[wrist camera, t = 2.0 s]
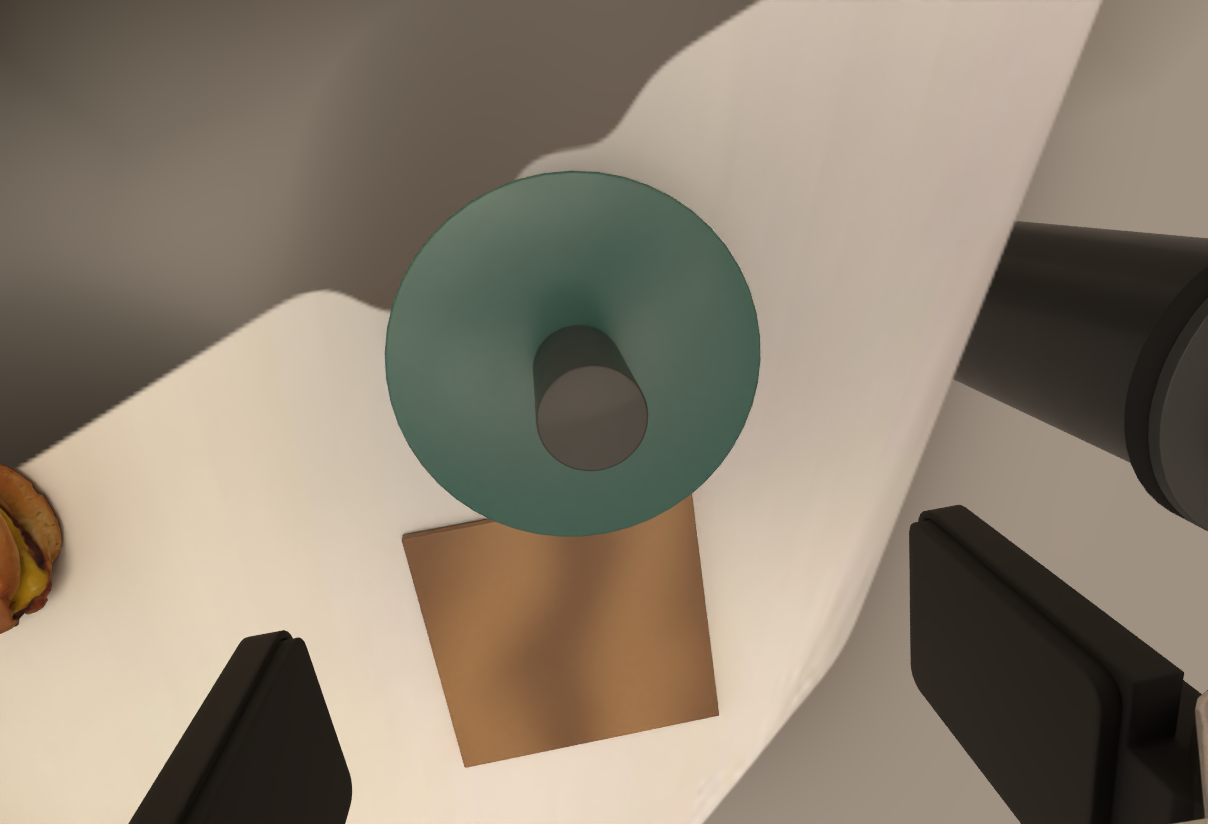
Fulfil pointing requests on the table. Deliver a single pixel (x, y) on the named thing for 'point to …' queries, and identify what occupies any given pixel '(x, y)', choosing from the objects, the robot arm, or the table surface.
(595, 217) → the tin lid
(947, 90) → the table surface
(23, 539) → the burger
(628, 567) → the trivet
